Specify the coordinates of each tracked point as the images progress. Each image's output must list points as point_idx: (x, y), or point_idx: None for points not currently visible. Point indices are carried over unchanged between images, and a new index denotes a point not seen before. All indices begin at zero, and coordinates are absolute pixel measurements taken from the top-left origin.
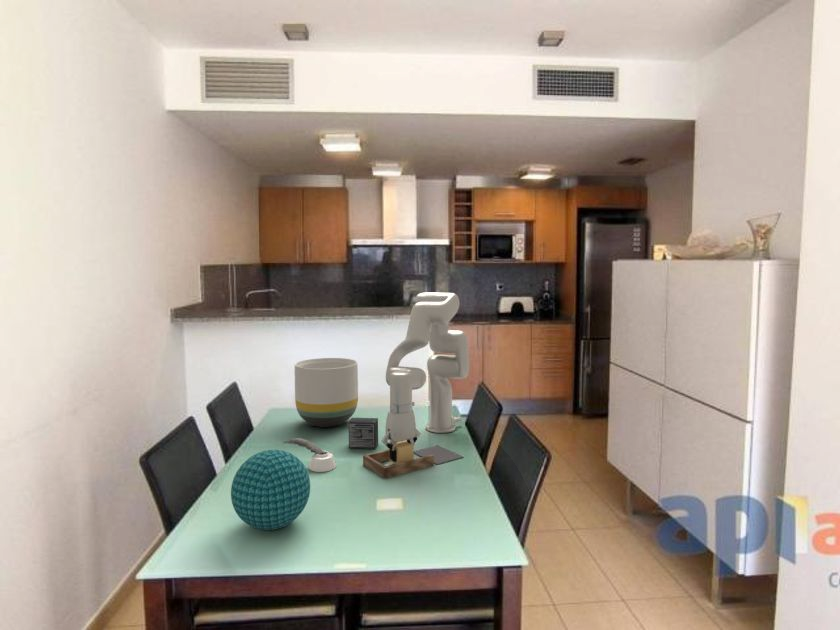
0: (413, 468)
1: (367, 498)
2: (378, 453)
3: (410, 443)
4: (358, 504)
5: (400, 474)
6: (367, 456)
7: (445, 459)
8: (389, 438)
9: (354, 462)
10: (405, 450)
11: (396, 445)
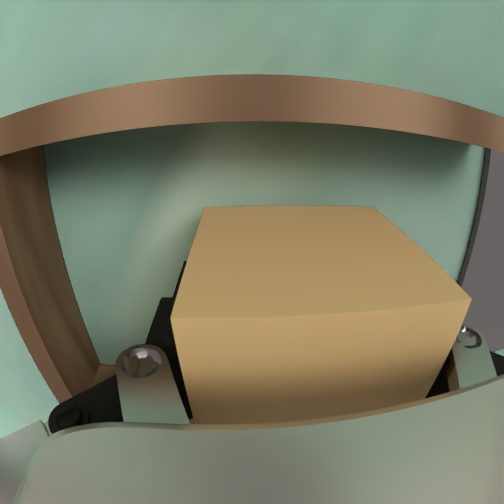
0: None
1: (22, 423)
2: (94, 134)
3: (429, 395)
4: (5, 424)
5: None
6: None
7: (489, 339)
8: (136, 434)
9: (3, 44)
10: None
11: (235, 417)
